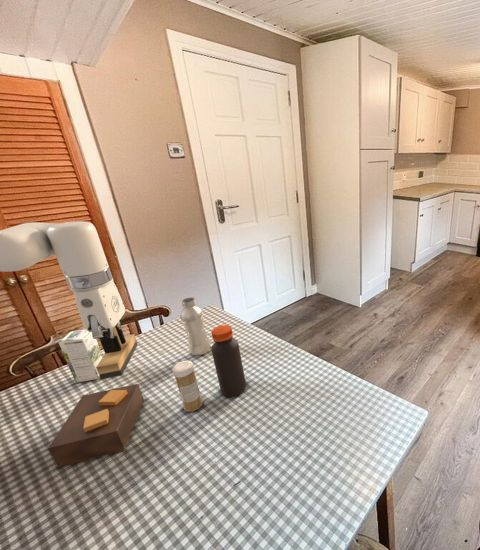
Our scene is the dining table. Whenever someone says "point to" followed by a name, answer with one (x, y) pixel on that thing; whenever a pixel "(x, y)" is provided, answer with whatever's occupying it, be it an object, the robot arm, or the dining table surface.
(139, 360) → the dining table surface
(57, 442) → the brown box
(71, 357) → the syrup box
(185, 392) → the sprinkles bottle
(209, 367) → the dining table surface
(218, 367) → the vinegar
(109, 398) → the crust
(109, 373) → the brush
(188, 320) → the plastic bottle
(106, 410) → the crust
